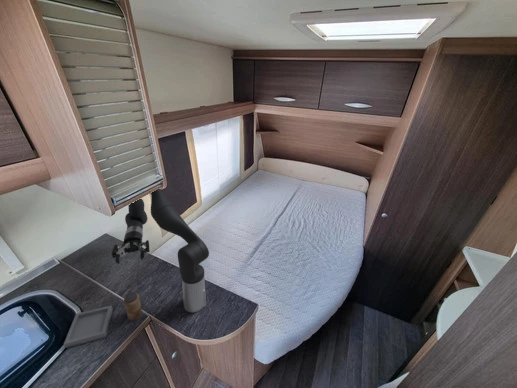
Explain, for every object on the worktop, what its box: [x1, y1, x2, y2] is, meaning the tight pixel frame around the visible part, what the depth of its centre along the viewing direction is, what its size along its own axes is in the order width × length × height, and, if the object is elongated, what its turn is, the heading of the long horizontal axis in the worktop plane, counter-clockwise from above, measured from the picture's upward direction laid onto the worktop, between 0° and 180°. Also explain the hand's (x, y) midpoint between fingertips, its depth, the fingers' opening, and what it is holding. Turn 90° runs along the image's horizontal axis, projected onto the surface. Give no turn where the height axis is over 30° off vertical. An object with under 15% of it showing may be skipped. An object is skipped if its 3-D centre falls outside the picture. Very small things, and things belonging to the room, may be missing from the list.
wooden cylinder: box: [123, 291, 143, 322], centre depth 85 cm, size 5×5×11 cm
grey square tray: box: [63, 305, 113, 349], centre depth 80 cm, size 12×12×2 cm
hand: (130, 260), depth 87 cm, fingers open, 8 cm apart
